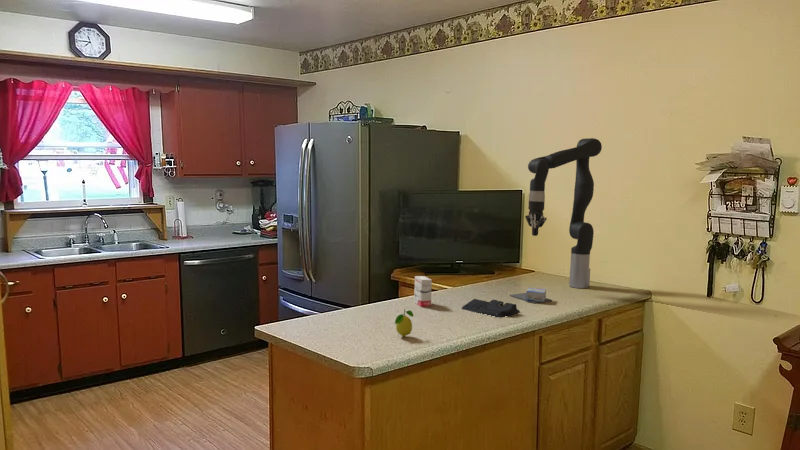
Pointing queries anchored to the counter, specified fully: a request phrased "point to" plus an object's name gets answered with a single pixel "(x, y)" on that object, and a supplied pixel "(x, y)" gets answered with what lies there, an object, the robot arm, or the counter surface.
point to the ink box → (422, 291)
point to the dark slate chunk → (491, 308)
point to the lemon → (404, 323)
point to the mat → (523, 297)
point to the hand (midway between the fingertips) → (534, 235)
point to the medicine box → (536, 294)
